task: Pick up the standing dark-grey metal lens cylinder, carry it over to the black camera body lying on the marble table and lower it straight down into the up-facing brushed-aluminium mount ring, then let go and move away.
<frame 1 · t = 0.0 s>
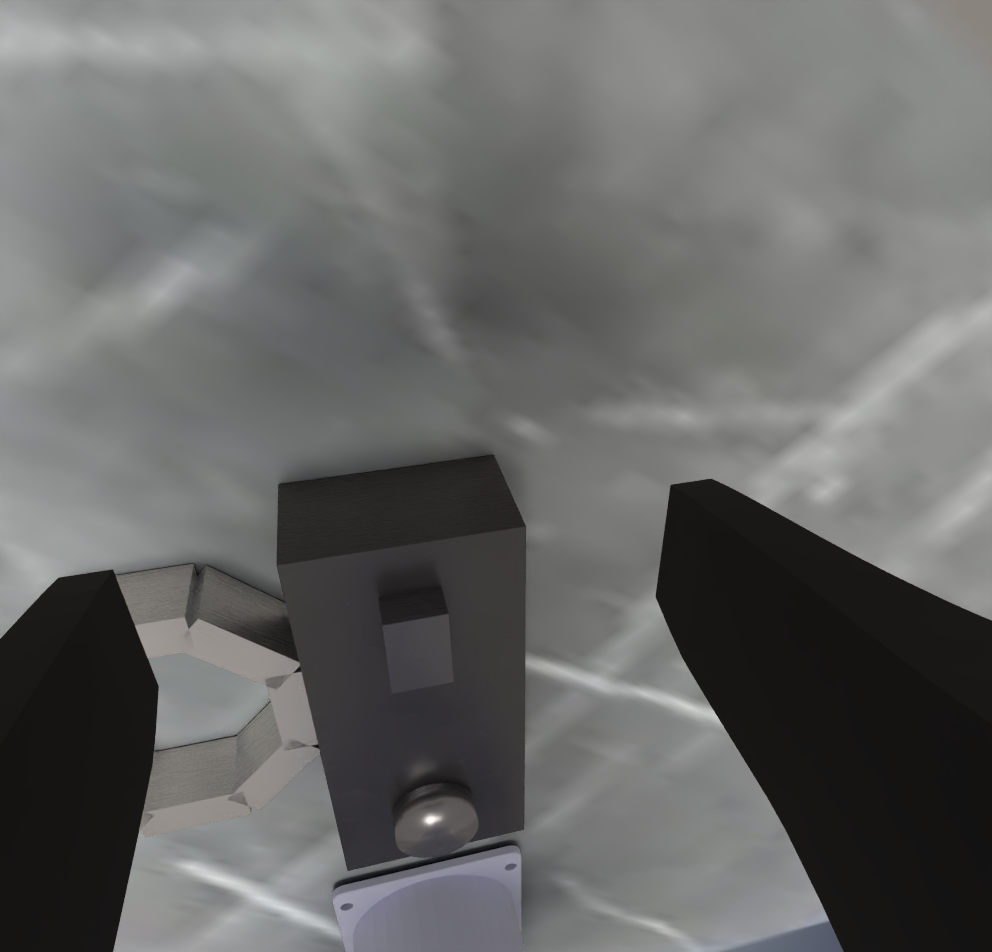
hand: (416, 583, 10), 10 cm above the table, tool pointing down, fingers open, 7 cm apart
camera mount: (172, 679, 23), on the table
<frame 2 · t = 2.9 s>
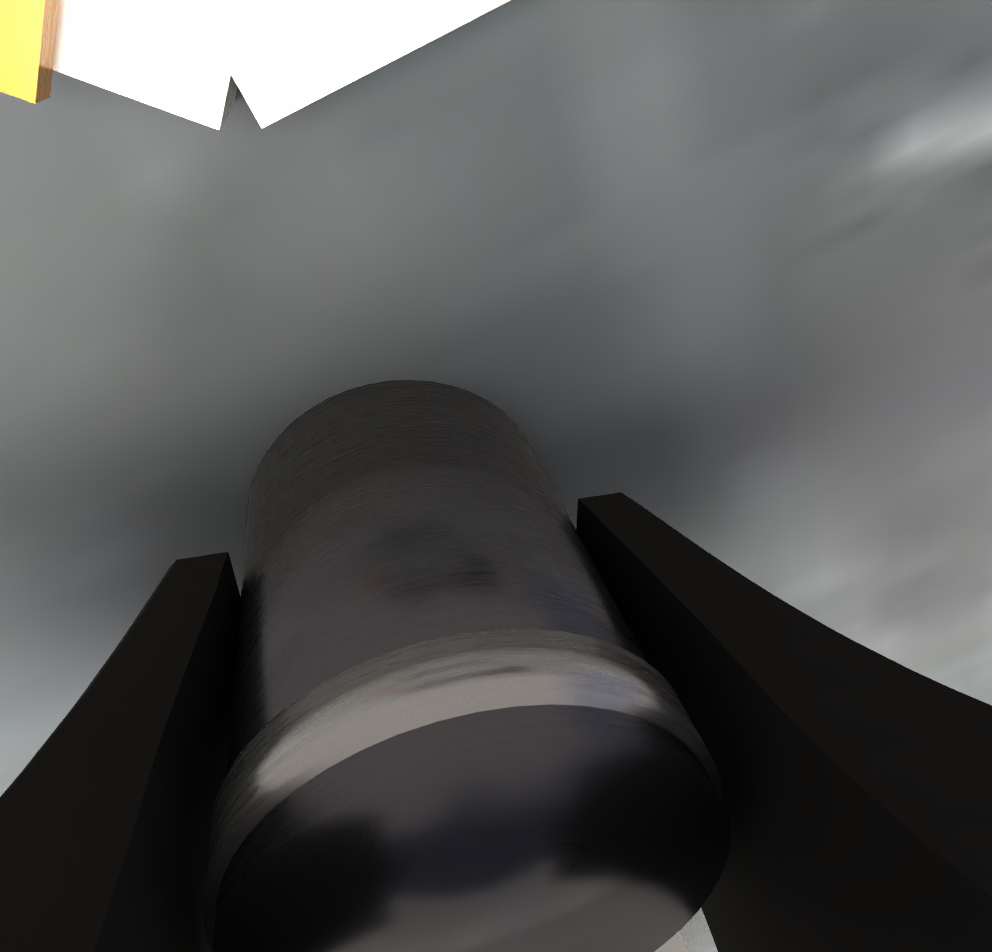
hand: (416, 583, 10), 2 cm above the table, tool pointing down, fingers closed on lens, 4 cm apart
lens: (401, 513, 11), on the table, touching gripper
can: (546, 929, 20), on the table
when the fingers open (3 cm above the table, at t = 7.0 s): lens drops 1 cm, resting in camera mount.
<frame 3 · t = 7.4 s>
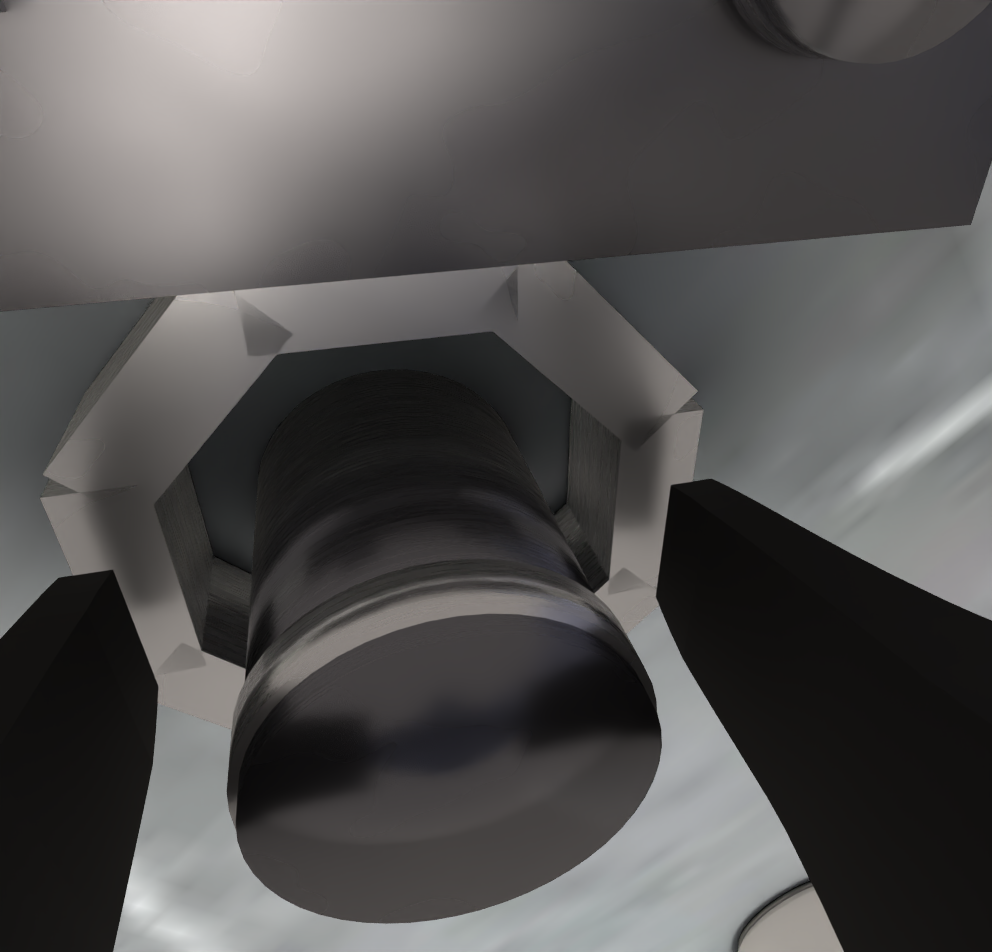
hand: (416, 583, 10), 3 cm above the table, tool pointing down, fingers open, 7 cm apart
lens: (393, 489, 13), resting in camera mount
can: (810, 911, 26), on the table
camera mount: (391, 466, 12), on the table
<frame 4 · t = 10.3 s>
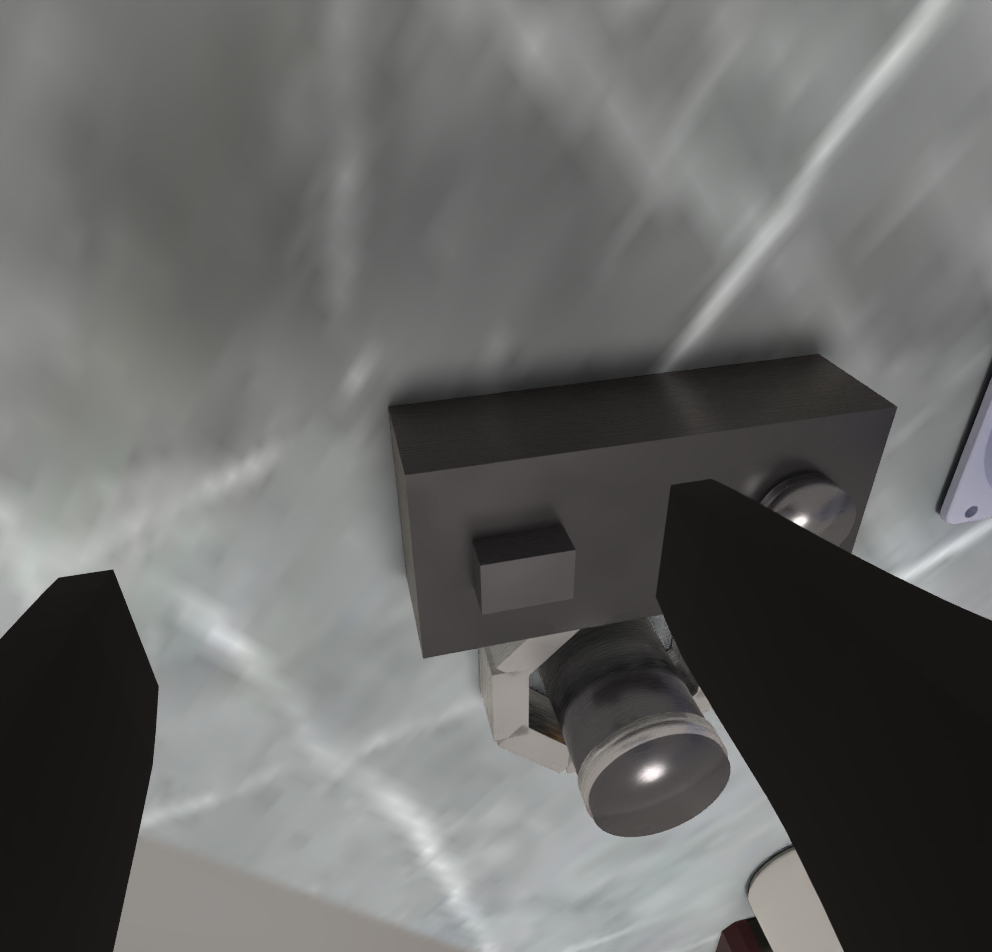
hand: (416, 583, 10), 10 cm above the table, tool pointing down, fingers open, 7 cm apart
toy gun: (768, 941, 46), on the table
lens: (594, 647, 27), resting in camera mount
can: (796, 866, 41), on the table
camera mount: (595, 638, 27), on the table
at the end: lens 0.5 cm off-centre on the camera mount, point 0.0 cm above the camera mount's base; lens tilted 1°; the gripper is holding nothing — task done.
